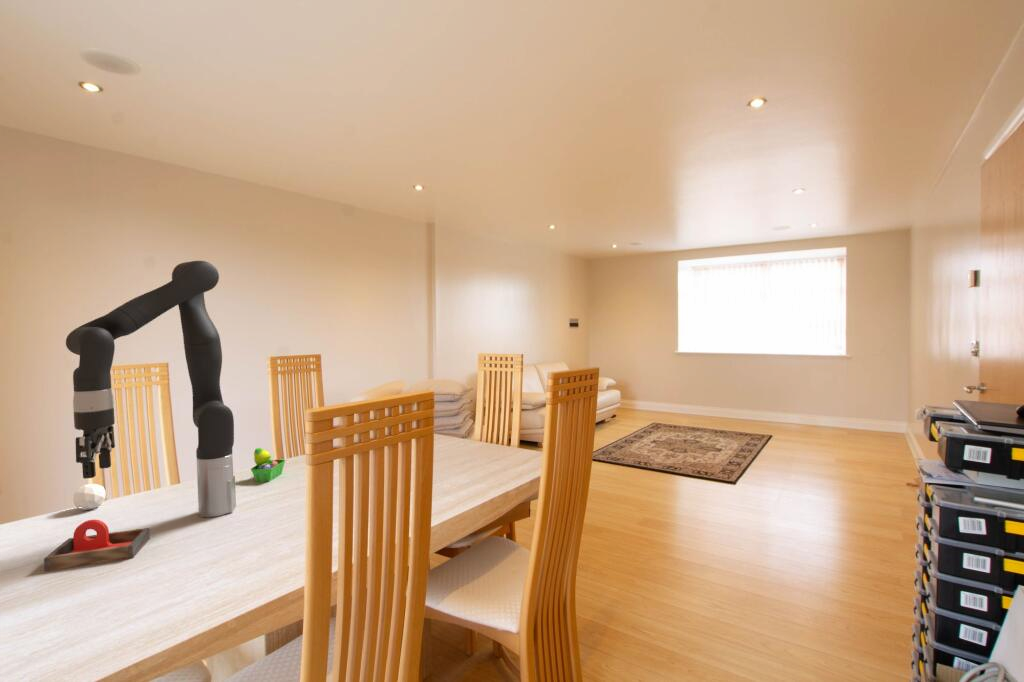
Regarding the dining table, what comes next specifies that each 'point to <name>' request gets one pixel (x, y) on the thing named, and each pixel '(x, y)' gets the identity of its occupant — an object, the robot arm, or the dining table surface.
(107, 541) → the bracket
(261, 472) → the fruit basket
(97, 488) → the geometric ball
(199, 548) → the dining table surface
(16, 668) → the dining table surface
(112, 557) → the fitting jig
